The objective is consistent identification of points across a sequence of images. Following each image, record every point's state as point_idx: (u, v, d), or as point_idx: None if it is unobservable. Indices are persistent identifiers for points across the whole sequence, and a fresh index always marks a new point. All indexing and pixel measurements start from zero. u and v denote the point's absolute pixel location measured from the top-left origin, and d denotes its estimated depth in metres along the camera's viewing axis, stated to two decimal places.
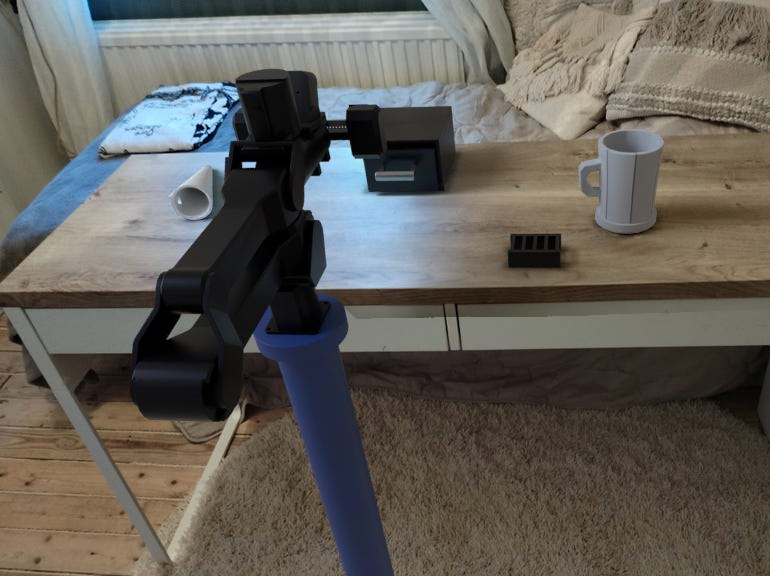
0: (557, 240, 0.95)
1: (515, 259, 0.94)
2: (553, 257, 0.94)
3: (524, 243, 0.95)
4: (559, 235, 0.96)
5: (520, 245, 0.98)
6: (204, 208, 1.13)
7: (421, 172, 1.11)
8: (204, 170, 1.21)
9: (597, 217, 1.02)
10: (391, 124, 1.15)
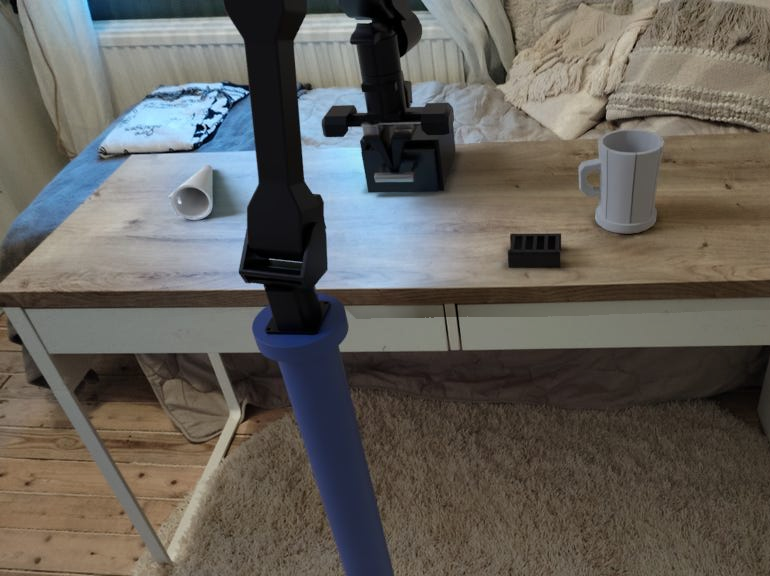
0: (557, 240, 0.95)
1: (515, 259, 0.94)
2: (553, 257, 0.94)
3: (524, 243, 0.95)
4: (559, 235, 0.96)
5: (520, 245, 0.98)
6: (204, 208, 1.13)
7: (420, 173, 1.11)
8: (204, 170, 1.21)
9: (597, 217, 1.02)
10: None
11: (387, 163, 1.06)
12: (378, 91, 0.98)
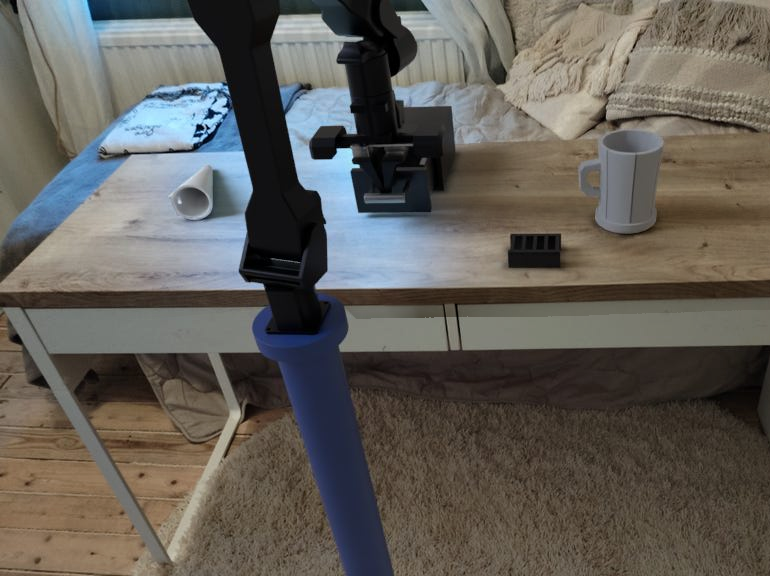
0: (557, 240, 0.95)
1: (515, 259, 0.94)
2: (553, 257, 0.94)
3: (524, 243, 0.95)
4: (559, 235, 0.96)
5: (520, 245, 0.98)
6: (204, 208, 1.13)
7: (412, 193, 1.05)
8: (204, 170, 1.20)
9: (597, 217, 1.02)
10: None
11: (378, 186, 1.01)
12: (367, 112, 0.93)
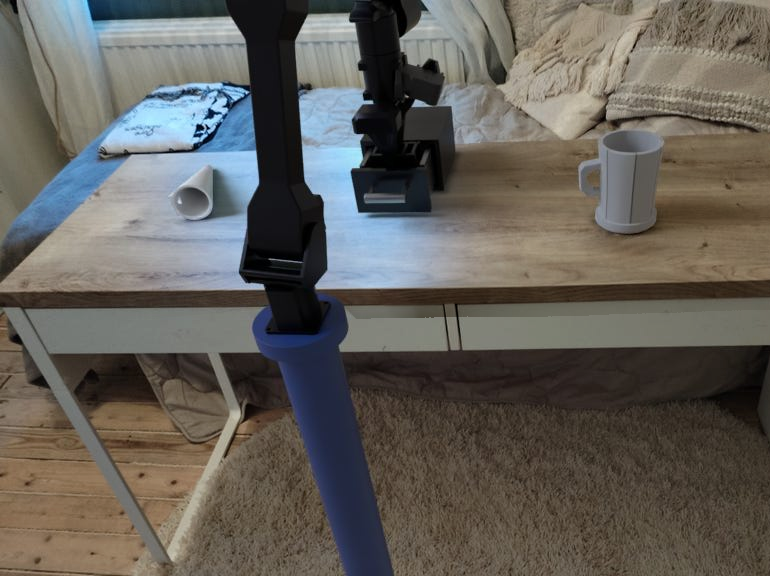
0: (414, 146, 1.07)
1: (376, 163, 1.06)
2: (409, 160, 1.05)
3: None
4: (418, 143, 1.08)
5: None
6: (204, 208, 1.13)
7: (412, 193, 1.05)
8: (204, 170, 1.21)
9: (597, 217, 1.02)
10: None
11: None
12: None
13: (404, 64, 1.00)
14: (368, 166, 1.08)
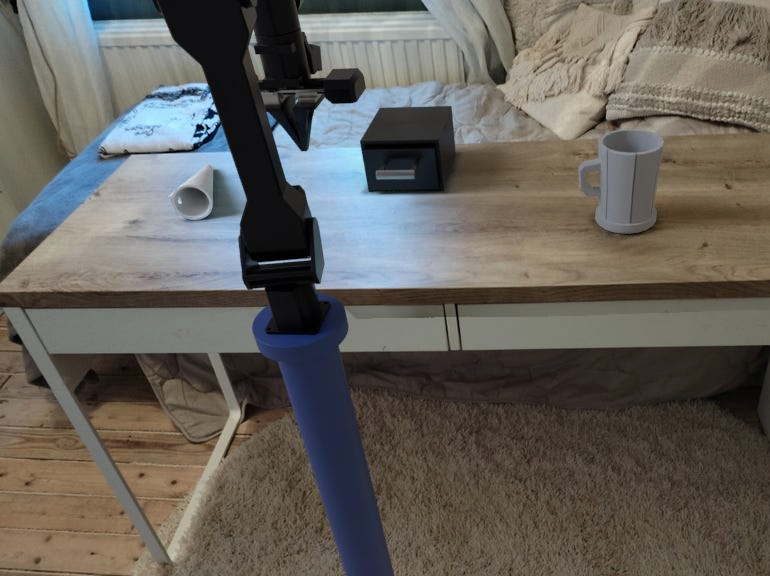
0: None
1: None
2: None
3: None
4: None
5: None
6: (204, 208, 1.13)
7: (421, 171, 1.11)
8: (205, 170, 1.21)
9: (597, 218, 1.02)
10: (391, 124, 1.15)
11: (292, 137, 0.95)
12: (273, 53, 0.87)
13: None
14: None
